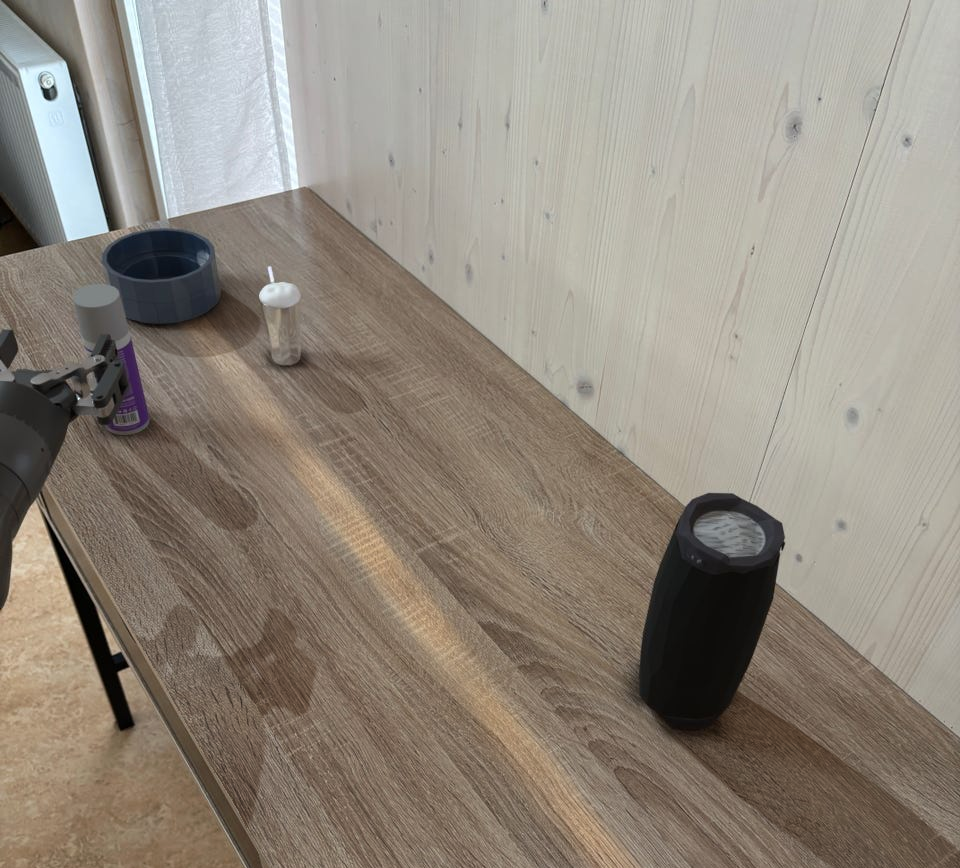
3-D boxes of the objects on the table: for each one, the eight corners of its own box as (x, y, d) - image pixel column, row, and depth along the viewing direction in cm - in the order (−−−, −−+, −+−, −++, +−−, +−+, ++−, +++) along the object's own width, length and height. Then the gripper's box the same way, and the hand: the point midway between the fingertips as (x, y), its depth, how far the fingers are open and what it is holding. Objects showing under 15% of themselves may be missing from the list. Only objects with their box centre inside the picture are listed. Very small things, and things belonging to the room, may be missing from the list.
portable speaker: (754, 698, 91) (818, 528, 76) (684, 755, 86) (738, 587, 72) (678, 641, 95) (726, 471, 80) (608, 693, 90) (645, 522, 76)
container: (158, 415, 114) (130, 288, 103) (135, 439, 111) (103, 312, 100) (120, 405, 115) (88, 279, 104) (96, 429, 112) (61, 301, 101)
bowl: (112, 332, 125) (101, 286, 120) (112, 277, 133) (102, 231, 129) (225, 323, 127) (218, 277, 123) (218, 269, 136) (211, 224, 131)
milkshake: (296, 341, 125) (288, 262, 118) (311, 364, 122) (304, 285, 115) (259, 348, 124) (249, 269, 117) (274, 372, 121) (264, 293, 113)
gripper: (81, 417, 79) (132, 305, 90) (-109, 409, 79) (-35, 298, 90) (103, 494, 85) (148, 380, 96) (-75, 486, 85) (-9, 373, 96)
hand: (59, 340), depth 93 cm, fingers open, 8 cm apart
